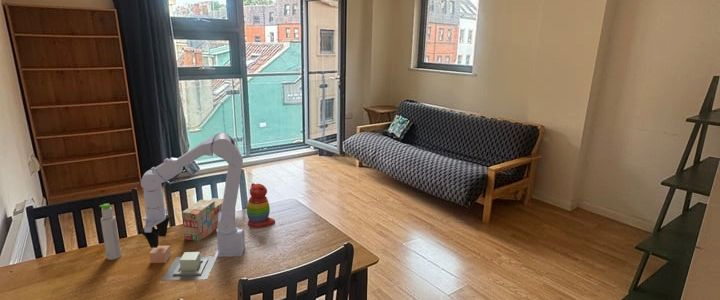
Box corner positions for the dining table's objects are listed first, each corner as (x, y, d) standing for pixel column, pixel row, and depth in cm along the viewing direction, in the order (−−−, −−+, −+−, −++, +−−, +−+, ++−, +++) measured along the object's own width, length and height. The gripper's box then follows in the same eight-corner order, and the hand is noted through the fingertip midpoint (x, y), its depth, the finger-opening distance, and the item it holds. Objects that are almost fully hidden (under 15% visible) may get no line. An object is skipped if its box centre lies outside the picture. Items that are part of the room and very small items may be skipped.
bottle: (109, 254, 145) (101, 202, 139) (122, 252, 146) (115, 201, 140) (104, 260, 140) (96, 207, 135) (118, 259, 142) (111, 206, 136)
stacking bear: (277, 223, 172) (276, 184, 167) (258, 231, 165) (256, 190, 160) (260, 215, 179) (259, 177, 174) (241, 223, 171) (239, 184, 166)
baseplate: (217, 257, 145) (217, 254, 144) (206, 280, 131) (206, 277, 131) (176, 258, 143) (176, 255, 143) (161, 281, 130) (161, 278, 130)
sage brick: (200, 263, 140) (199, 251, 139) (196, 271, 135) (195, 259, 134) (185, 263, 139) (184, 252, 138) (180, 272, 135) (179, 260, 133)
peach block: (170, 256, 145) (169, 245, 143) (165, 264, 140) (164, 252, 139) (156, 257, 144) (154, 245, 143) (150, 264, 139) (149, 253, 138)
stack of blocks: (215, 217, 176) (213, 190, 172) (228, 219, 175) (226, 192, 171) (184, 240, 156) (181, 211, 152) (199, 243, 155) (196, 213, 151)
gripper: (150, 196, 143) (154, 231, 146) (132, 214, 129) (137, 252, 132) (171, 196, 143) (174, 231, 147) (155, 214, 129) (159, 252, 133)
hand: (158, 241), depth 140 cm, fingers open, 7 cm apart
